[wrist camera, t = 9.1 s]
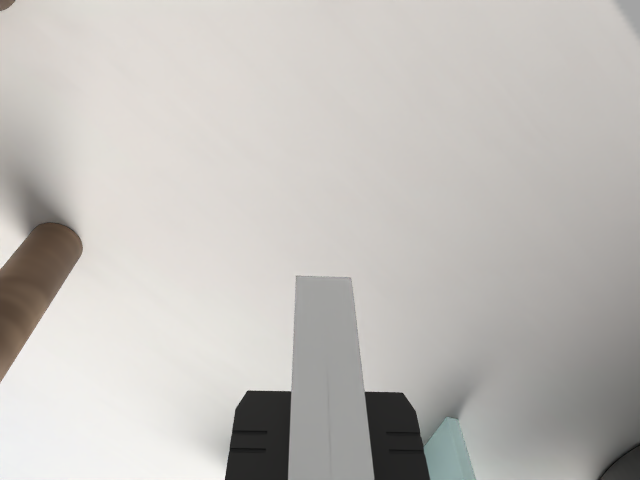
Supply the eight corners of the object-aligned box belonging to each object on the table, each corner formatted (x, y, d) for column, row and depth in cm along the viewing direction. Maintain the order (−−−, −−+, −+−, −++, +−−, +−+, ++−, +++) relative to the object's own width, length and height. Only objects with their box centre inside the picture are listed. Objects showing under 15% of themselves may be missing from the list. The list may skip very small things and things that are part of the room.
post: (77, 223, 26) (-14, 351, 19) (87, 264, 28) (6, 399, 20) (24, 221, 26) (-88, 350, 19) (37, 263, 28) (-62, 398, 20)
